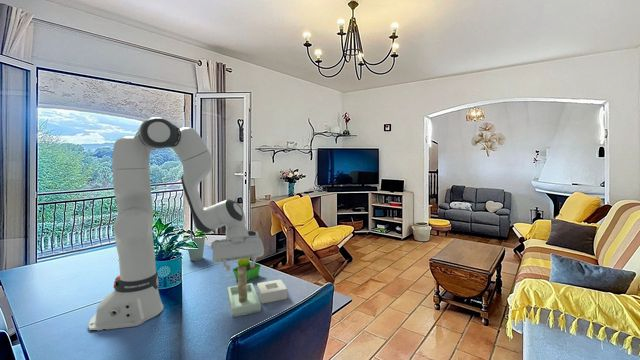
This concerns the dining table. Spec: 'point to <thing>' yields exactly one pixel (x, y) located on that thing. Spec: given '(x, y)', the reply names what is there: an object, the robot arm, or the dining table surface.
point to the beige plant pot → (197, 253)
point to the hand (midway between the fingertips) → (240, 268)
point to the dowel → (242, 284)
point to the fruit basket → (247, 269)
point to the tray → (243, 307)
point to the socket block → (271, 291)
